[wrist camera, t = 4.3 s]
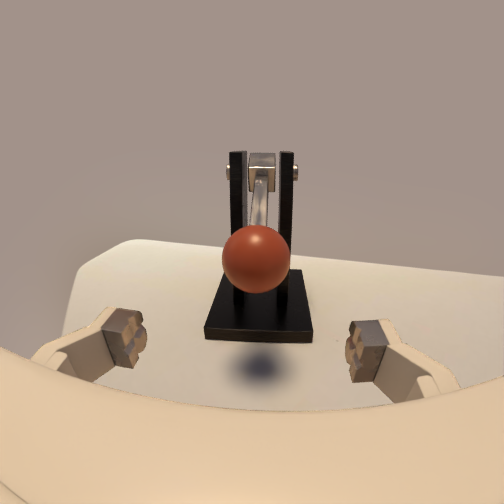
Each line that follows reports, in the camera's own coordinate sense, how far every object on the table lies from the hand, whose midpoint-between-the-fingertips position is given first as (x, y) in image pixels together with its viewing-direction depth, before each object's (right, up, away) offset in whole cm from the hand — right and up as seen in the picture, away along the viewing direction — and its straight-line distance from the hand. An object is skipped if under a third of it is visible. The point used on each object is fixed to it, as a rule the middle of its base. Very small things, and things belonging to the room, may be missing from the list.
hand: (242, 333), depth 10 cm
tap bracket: (+1, -2, +18) cm, 18 cm away
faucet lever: (+1, +5, +11) cm, 12 cm away
